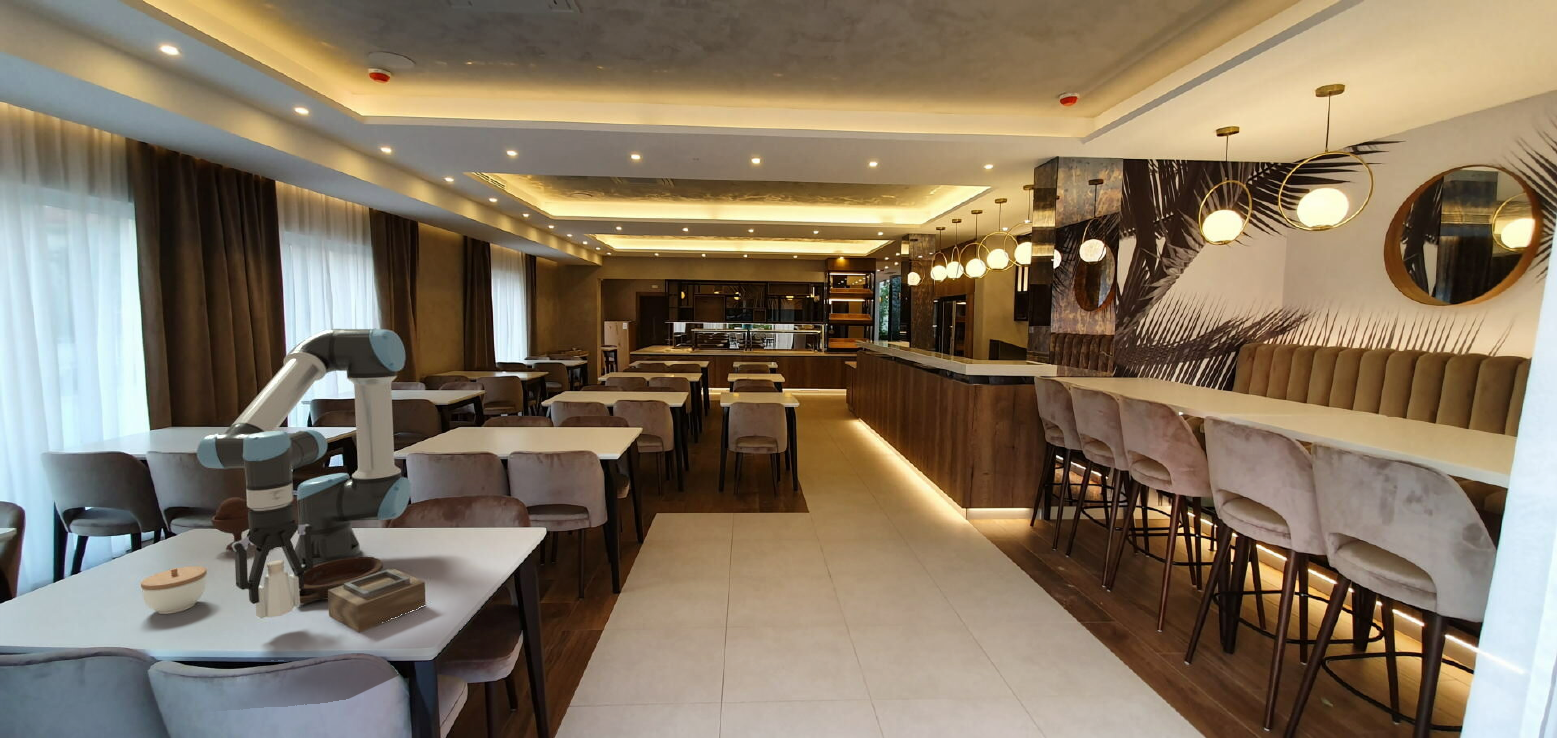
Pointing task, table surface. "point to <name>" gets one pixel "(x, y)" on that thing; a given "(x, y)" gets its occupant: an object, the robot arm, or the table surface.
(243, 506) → the ice cream bowl
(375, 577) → the display riser
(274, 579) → the pepper shaker
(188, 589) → the lidded jar
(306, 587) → the dish
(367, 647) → the table surface
